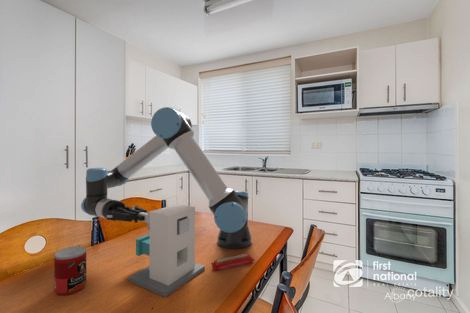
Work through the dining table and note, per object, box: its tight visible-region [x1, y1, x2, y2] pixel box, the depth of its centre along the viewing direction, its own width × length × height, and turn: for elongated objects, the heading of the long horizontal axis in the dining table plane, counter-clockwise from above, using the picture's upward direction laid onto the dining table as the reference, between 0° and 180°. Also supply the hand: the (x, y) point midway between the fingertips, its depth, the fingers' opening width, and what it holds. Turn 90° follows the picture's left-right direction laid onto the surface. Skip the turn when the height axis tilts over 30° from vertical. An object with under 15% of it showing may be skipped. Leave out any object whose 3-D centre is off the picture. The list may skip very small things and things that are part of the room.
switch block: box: [128, 203, 206, 298], centre depth 78 cm, size 16×18×22 cm
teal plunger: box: [135, 233, 150, 257], centre depth 81 cm, size 14×6×6 cm, turn 60°
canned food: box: [53, 245, 87, 296], centre depth 70 cm, size 8×8×11 cm
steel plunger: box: [147, 211, 189, 234], centre depth 77 cm, size 14×6×6 cm, turn 60°
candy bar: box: [211, 253, 255, 271], centre depth 85 cm, size 16×4×3 cm, turn 116°
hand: (153, 219), depth 81 cm, fingers closed
